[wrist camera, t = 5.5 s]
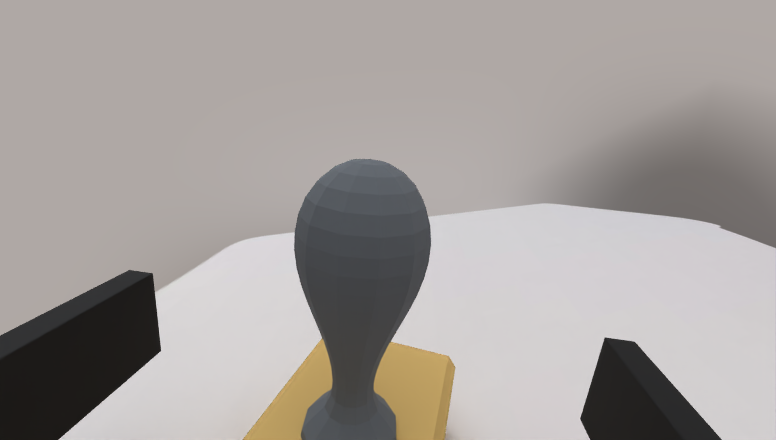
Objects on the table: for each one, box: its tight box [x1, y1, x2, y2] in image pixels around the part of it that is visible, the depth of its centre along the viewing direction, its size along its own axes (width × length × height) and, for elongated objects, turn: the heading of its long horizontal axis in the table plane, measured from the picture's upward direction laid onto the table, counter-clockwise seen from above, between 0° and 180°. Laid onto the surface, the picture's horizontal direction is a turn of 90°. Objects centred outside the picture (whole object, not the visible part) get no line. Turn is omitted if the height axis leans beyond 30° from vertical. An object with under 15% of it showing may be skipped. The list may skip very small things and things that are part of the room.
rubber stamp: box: [243, 159, 455, 440], centre depth 11 cm, size 10×6×12 cm, turn 164°
